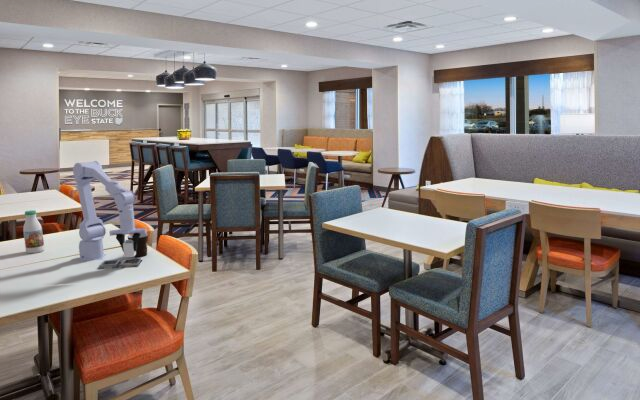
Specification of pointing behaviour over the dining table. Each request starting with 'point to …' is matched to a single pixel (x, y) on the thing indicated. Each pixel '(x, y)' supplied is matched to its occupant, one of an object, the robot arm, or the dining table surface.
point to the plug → (129, 248)
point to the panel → (120, 264)
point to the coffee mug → (140, 245)
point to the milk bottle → (33, 233)
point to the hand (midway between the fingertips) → (129, 250)
